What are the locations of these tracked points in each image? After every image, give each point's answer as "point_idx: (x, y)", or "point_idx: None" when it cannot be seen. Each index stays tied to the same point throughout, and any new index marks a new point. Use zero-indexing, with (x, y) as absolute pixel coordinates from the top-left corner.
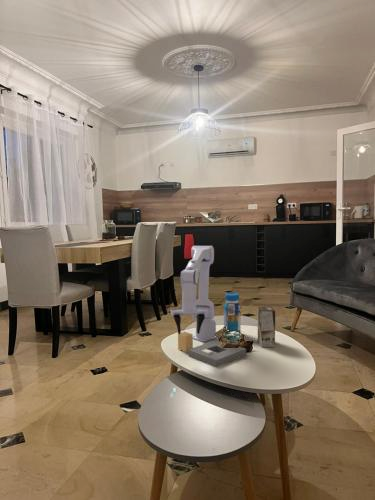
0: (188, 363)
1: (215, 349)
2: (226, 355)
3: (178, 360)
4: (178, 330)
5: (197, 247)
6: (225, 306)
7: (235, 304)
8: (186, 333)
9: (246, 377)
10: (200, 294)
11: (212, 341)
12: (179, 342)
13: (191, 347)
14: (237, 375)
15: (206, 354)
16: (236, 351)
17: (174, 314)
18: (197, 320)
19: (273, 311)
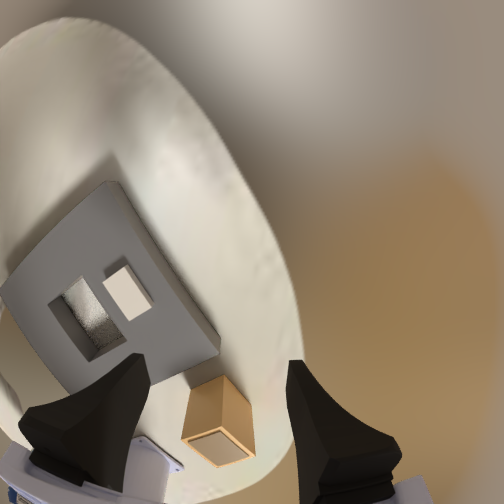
0: (235, 247)
1: (96, 353)
2: (55, 236)
3: (276, 293)
4: (313, 376)
5: None
6: None
7: (13, 499)
8: (212, 449)
9: (58, 80)
10: None
11: None
12: (248, 422)
13: (195, 394)
14: (74, 94)
15: (134, 270)
16: (21, 272)
17: (384, 501)
18: (115, 450)
19: None
